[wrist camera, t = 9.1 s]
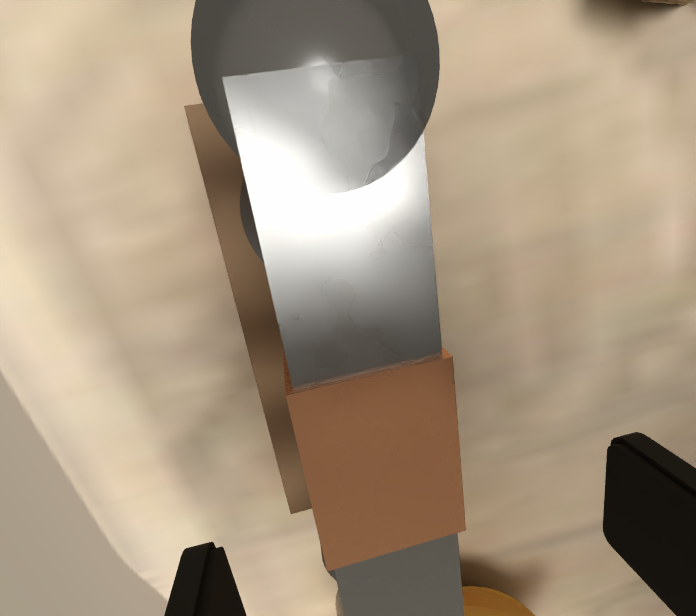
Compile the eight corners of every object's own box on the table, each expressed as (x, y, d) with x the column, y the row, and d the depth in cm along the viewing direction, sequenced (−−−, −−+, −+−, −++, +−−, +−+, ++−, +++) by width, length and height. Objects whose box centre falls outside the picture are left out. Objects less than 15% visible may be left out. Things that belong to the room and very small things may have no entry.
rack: (414, 463, 27) (482, 594, 18) (289, 496, 26) (298, 653, 17) (368, 88, 20) (446, 4, 11) (190, 112, 19) (115, 39, 10)
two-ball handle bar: (446, 613, 18) (486, 712, 15) (345, 646, 18) (362, 757, 14) (380, -10, 11) (433, -109, 7) (194, 9, 10) (152, -91, 6)
